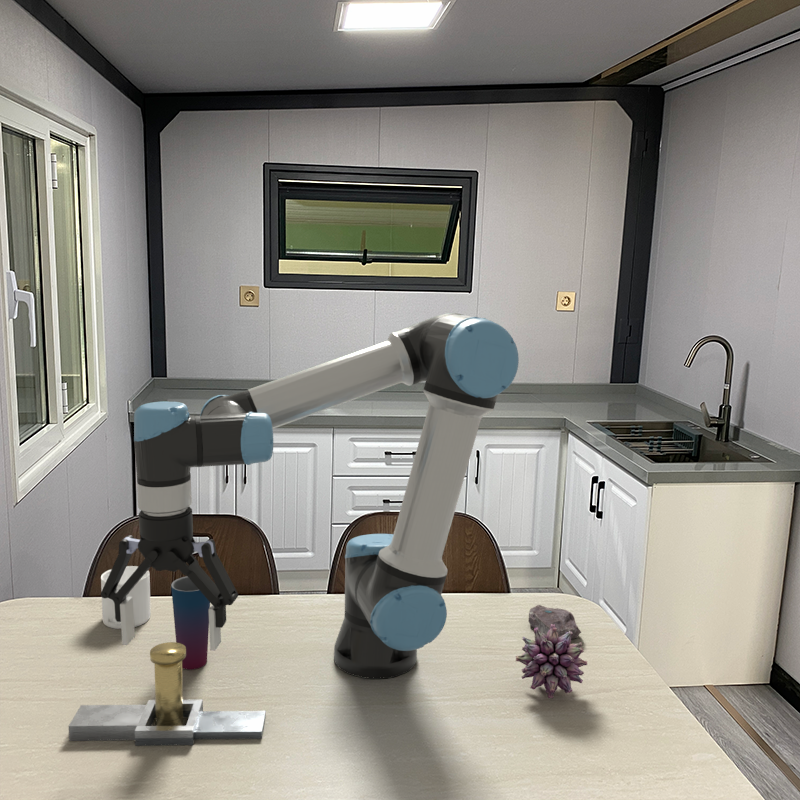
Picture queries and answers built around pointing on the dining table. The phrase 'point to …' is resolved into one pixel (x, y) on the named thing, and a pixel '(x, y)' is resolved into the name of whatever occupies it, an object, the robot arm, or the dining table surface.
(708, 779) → the dining table surface
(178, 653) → the pin
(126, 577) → the mug
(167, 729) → the grey metal base plate
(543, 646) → the flower
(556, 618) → the rock
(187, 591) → the cup
